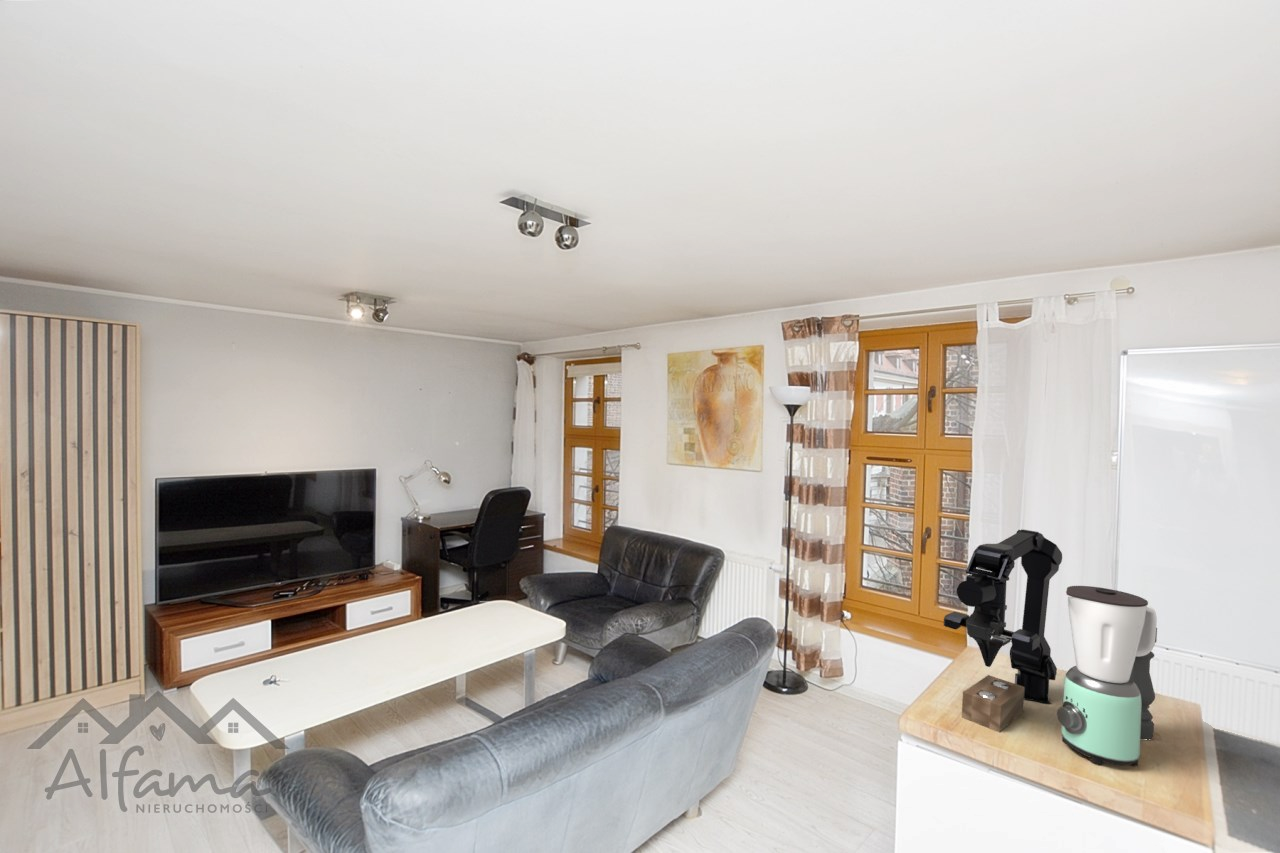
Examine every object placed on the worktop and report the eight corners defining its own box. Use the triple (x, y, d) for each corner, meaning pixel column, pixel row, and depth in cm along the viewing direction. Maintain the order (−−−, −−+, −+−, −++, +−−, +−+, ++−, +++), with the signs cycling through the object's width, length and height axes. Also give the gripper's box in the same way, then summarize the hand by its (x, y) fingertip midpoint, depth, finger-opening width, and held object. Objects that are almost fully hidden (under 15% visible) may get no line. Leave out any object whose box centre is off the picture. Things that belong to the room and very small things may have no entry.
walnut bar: (1023, 711, 139) (1024, 686, 139) (999, 732, 129) (1000, 705, 129) (987, 698, 145) (988, 674, 145) (961, 717, 135) (962, 692, 135)
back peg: (1006, 705, 141) (1007, 683, 141) (1008, 711, 138) (1009, 688, 138) (991, 702, 142) (992, 680, 142) (993, 707, 139) (994, 685, 139)
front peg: (992, 716, 135) (993, 693, 135) (995, 722, 132) (996, 699, 132) (977, 712, 136) (978, 690, 136) (979, 719, 133) (980, 695, 133)
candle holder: (1144, 728, 133) (1150, 622, 133) (1159, 742, 127) (1164, 631, 127) (1112, 723, 135) (1117, 618, 135) (1125, 736, 129) (1130, 627, 129)
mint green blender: (1088, 771, 115) (1095, 599, 115) (1037, 735, 128) (1044, 580, 128) (1176, 771, 116) (1184, 601, 116) (1117, 735, 130) (1124, 582, 129)
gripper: (935, 595, 136) (932, 660, 136) (1025, 618, 122) (1021, 690, 122) (954, 588, 143) (951, 650, 143) (1042, 609, 129) (1038, 677, 129)
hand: (988, 666), depth 134 cm, fingers closed
